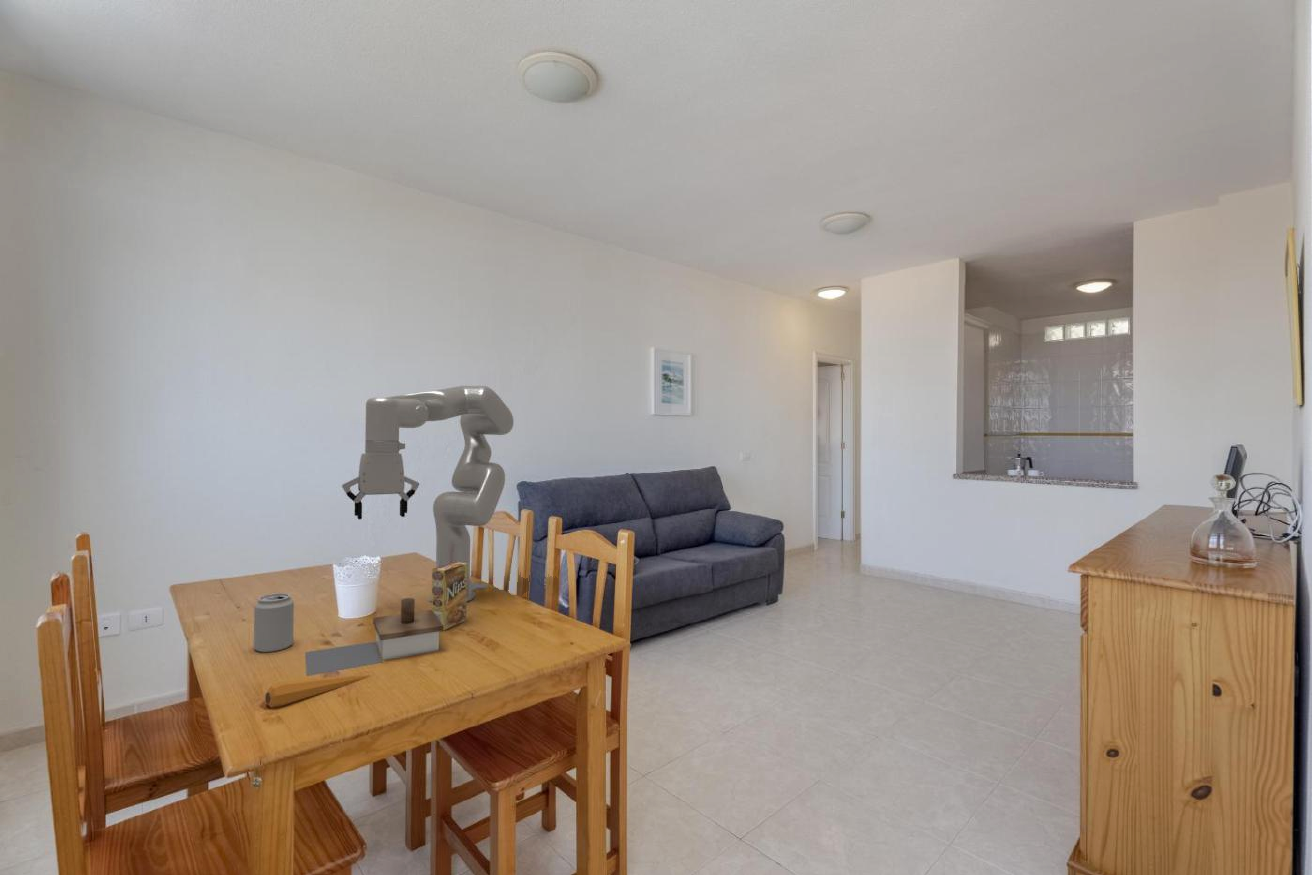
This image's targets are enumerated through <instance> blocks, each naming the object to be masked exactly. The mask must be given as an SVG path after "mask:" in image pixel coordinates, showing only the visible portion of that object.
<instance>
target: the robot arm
mask: <svg viewBox="0 0 1312 875" xmlns="http://www.w3.org/2000/svg"><path fill="white" fill-rule="evenodd" d="M459 416H460V418H459V420H460V422H459V423H460V429H461V432H462V435H463V438H464V439H463V441H464V447H463V450H462V454H461V456H460V458H459V461H458V462H457V464H456V467H455V468H454V471H453V474H452V477H451V485H452V488H454V489H455V490H457V491H446V492H442V493H441V494H439V495H438V496H436V498H435V500H434V501H433V504H432V513H433V519H434V522H435V533H436V535H435V538H436V546H435V568H438V567H441V566H444V565H447V564H450V563H453V562H461V563H467V600H466V601H467V602H469V601H471V600H473V599H475V596H476V593H475V592H476V591H478V590H479V591H480V590H486V589H487V584H486V582H472V581H471V577H470V576H471V574H470V572H471V537H470V533H469V530H468V528H467V527H466V526H472V527H482V526H486V525H487V524H488V523H489V522H490V521H491V519H492V518H493V515H494V514H495V510H496V508H497V506H498V504H499V501H500V498H501V495H502V493H503V490H504V487H505V484H506V474H505V473H506V472H505V470H504V467H502V466H501V465H500V464H499V463H497V462H496V463H495V462H491V461H490V460H491V458H492V448H491V446H490V444H489V441H488V440H487V439H486V437H485V435H493V436H496V435H497V436H502V435H504V436H505V435H507V434H509V433H510V432H511V431H512V430H513V427H514V416H513V413H512V411H511V410H510V408H509V407H508V406H507V405H506V403H505V402H504V401H503V399H502V398H501V397H500V396H499V394H497V393H496V392H495V391H494V389H492V388H490V387H489V386H484V385H458V386H453V387H448V388H442V389H436V390H430V391H422V392H421V391H420V392H417V393H416V392H415V393H410V394H402V395H395V396H394V395H393V396H388V397H370V398H369V399H367V401H366V403H365V438H364V439H365V442H364V445H365V446H364V450H365V451H364V453H361V455H360V460H359V466H358V468H359V469H358V476H357V477H355V478H353V479H351V480H349V481H347V482H345V483H343V484H342V485H341V488H342V490H343V491H344V492H345V495H346V496H347V497H348V498H349V499H350V500H351V501H353V503H354V516H355V517H357V519H358V520H362V518H363V503H362V500H363V499H364V497H365V496H367V495H368V496H369V495H370V496H371V495H373V496H375V495H378V496H379V495H396V494H397V495H398V496H399V497H400V498H401V499H400V500H399V516H400V517H401V518H405V517H406V516H405V515H406V514H408V501H409V500H410V498H412V497H413V496H414V495H415V493H416V491H417V490H418V488H419V486H420V483H419V482H418V481H416V480H413V479H412V478H410V477H407V476H405V470H404V460H403V455H402V453H400V451H401V450H405V449H406V443H402V442H401V441H400V428H401V429H415V428H420V427H422V426H423V425H425V424H426V422H437V421H439V422H440V421H445V420H447V419H452V418H456V417H459ZM405 483H406V484H408V485H411V487H410V489H409V490H408V491H407V492H405ZM355 485H357V489H358V492H357V494H355V493H353V492H352V490H351V487H354V486H355ZM429 601H430V602H432V593H431V594H430V595H429Z"/></svg>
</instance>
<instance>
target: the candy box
mask: <svg viewBox="0 0 1312 875" xmlns="http://www.w3.org/2000/svg"><path fill="white" fill-rule="evenodd" d="M431 574H432V575H431V577H432V578H431V594H432V601H431V610H432V611H433V612H434V613H435V615H436V616H437V618H438V619H439V620H440V622H441V623H442V624H443V631H446V630H448V629H450V628H452V627H455V626H456V625H460V624H461V623H464V622H467V603H468V601H466V600H467V563H461V562H453V563H450V564H447V565H444V566H441V567H438V568H436V567H435V568H432V570H431Z"/></svg>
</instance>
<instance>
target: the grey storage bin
mask: <svg viewBox="0 0 1312 875" xmlns="http://www.w3.org/2000/svg"><path fill="white" fill-rule="evenodd" d="M375 631H376V630H375ZM375 639H376V640H375V644H376V646H377V649H378V652H379V654H380V657H381V660H382V661H388V660H393V659H400V658H405V657H411V656H417V655H423V654H428V653H433V652H439V651H440V647H439V646H440V631H439V632H432V633H426V634H419V635H413V636H407V637H400V638H394V639H387V640H381V641H380V639H379V636H378V634H377V631H376V634H375Z"/></svg>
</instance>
